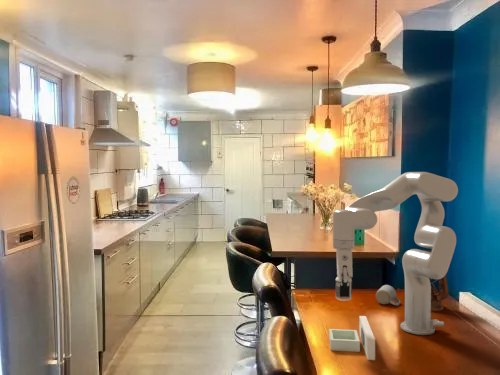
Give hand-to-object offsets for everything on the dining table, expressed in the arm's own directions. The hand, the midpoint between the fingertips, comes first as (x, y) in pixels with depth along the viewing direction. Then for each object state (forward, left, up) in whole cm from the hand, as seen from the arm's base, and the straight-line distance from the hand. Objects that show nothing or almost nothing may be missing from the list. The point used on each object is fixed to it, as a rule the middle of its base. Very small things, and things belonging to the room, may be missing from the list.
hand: (343, 293), depth 148 cm
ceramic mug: (-25, -50, -19) cm, 59 cm away
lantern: (-42, -47, -19) cm, 66 cm away
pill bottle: (0, 0, -2) cm, 2 cm away
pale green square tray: (0, 0, -19) cm, 19 cm away
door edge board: (-8, 0, -19) cm, 21 cm away
